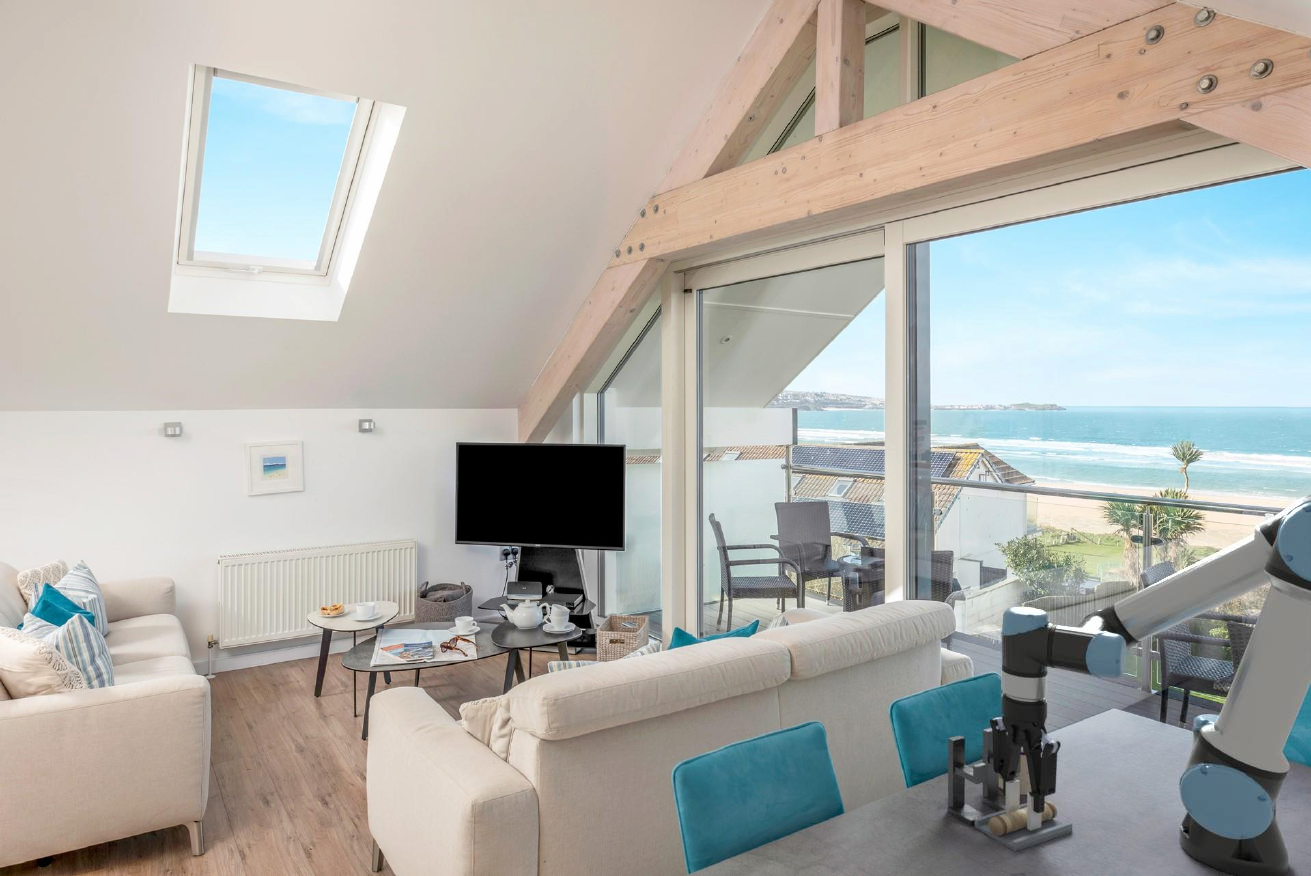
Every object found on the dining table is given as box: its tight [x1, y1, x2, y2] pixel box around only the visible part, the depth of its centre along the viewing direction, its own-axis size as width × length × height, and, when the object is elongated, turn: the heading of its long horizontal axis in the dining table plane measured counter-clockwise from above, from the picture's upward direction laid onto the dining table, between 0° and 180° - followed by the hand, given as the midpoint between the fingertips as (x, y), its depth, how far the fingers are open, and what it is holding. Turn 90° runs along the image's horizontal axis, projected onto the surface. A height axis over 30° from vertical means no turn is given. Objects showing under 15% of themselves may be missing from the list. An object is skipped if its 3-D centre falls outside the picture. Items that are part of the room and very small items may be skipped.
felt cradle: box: [974, 802, 1073, 852], centre depth 147 cm, size 9×14×2 cm, turn 116°
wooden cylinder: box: [989, 800, 1058, 836], centre depth 147 cm, size 14×3×3 cm, turn 115°
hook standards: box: [947, 727, 1021, 827], centre depth 154 cm, size 6×13×14 cm, turn 116°
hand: (1023, 821), depth 147 cm, fingers open, 4 cm apart
